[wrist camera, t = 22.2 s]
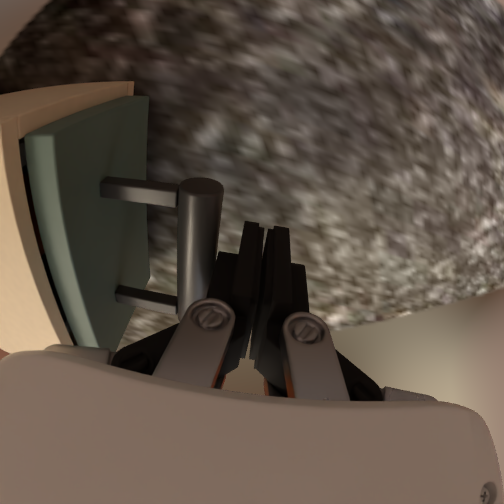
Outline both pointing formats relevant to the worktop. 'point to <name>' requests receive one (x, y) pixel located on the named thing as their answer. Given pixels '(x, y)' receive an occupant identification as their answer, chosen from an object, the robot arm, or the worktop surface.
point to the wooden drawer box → (19, 220)
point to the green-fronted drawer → (113, 220)
